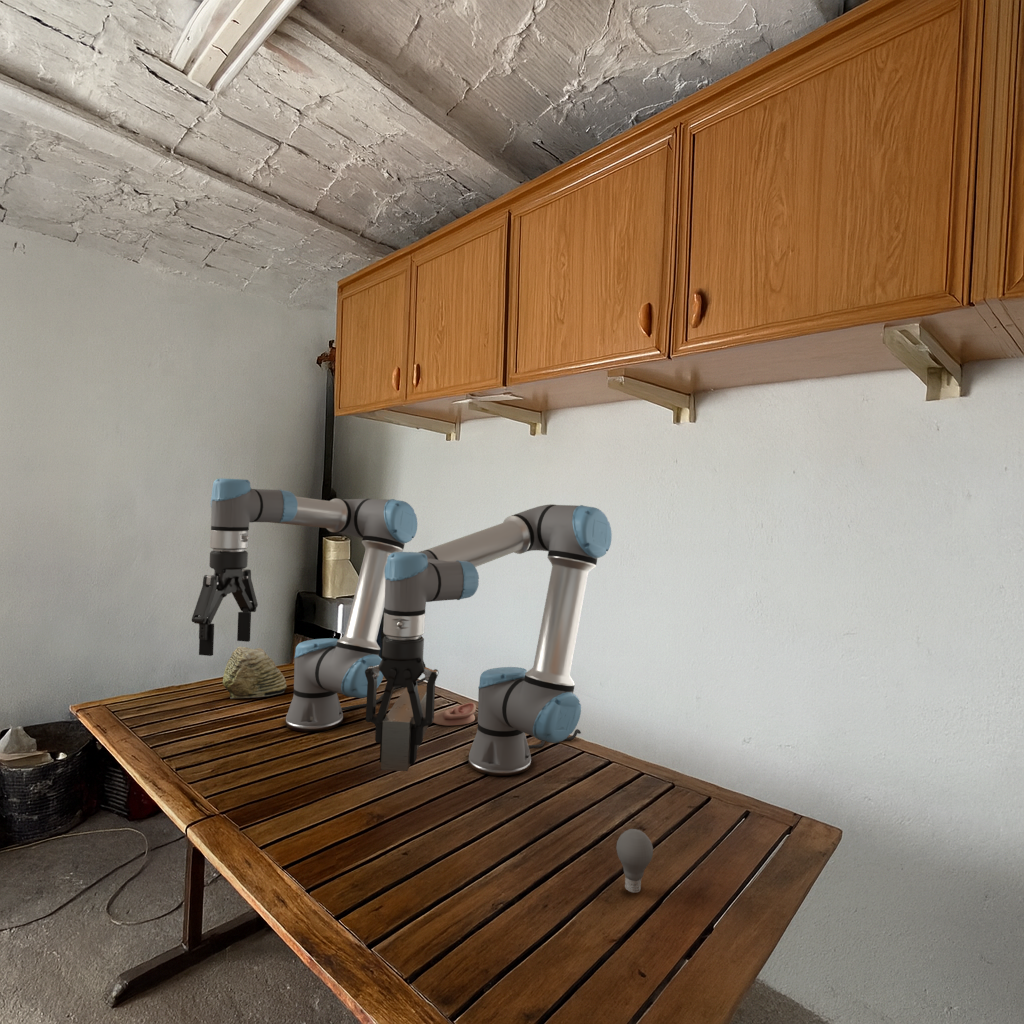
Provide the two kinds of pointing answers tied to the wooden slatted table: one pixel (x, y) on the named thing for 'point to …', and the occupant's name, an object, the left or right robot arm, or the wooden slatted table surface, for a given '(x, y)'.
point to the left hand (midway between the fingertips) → (225, 647)
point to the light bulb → (634, 857)
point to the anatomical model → (456, 715)
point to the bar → (400, 732)
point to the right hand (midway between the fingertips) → (398, 760)
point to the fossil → (252, 674)
